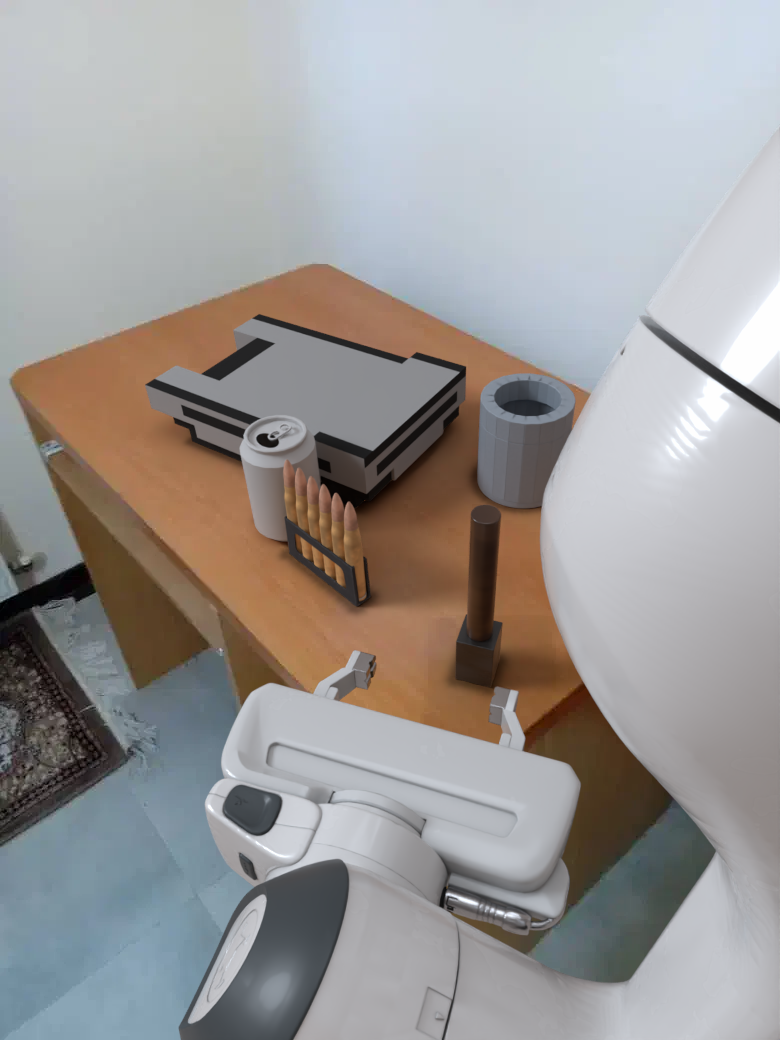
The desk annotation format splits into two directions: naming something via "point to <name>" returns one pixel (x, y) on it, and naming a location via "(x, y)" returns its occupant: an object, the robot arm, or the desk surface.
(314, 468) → the can
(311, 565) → the ammunition clip
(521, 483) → the hollow cylinder
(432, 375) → the game console
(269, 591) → the desk surface
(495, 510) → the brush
